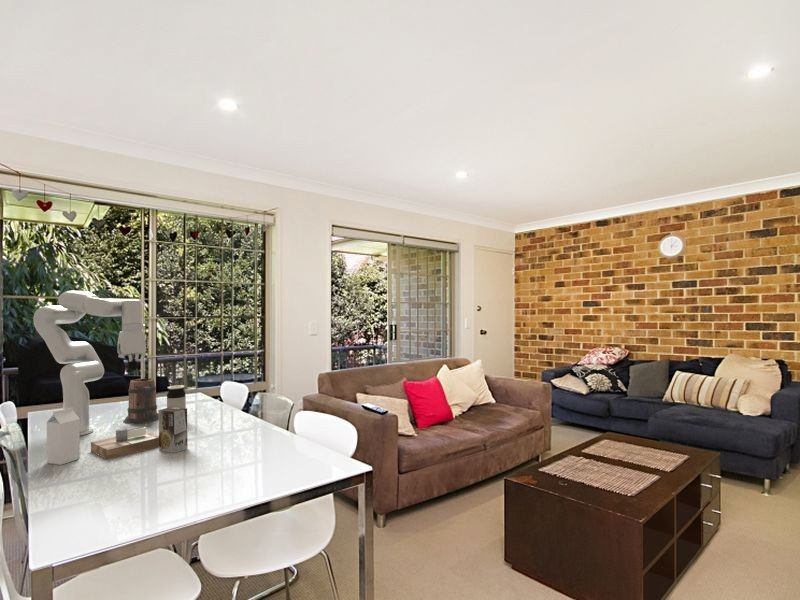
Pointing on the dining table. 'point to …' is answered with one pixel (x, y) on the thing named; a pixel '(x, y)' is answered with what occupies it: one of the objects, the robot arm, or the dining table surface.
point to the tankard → (142, 402)
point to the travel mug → (176, 396)
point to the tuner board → (124, 445)
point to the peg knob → (129, 433)
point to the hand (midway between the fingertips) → (132, 370)
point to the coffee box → (173, 429)
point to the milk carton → (63, 437)
